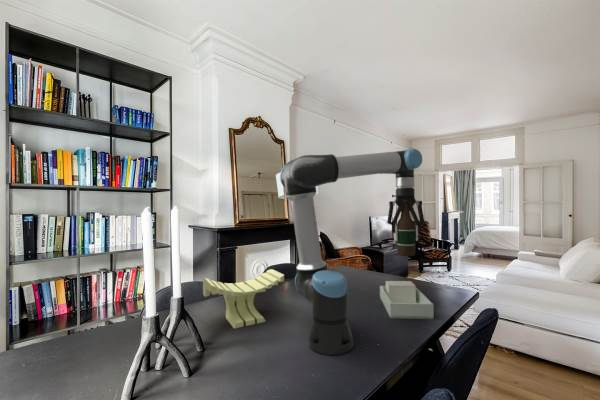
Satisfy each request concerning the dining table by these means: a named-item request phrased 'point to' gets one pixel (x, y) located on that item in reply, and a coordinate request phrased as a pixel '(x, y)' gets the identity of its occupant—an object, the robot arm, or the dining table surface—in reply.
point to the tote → (408, 307)
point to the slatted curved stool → (242, 297)
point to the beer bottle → (405, 232)
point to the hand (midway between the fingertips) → (406, 240)
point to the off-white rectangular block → (401, 291)
